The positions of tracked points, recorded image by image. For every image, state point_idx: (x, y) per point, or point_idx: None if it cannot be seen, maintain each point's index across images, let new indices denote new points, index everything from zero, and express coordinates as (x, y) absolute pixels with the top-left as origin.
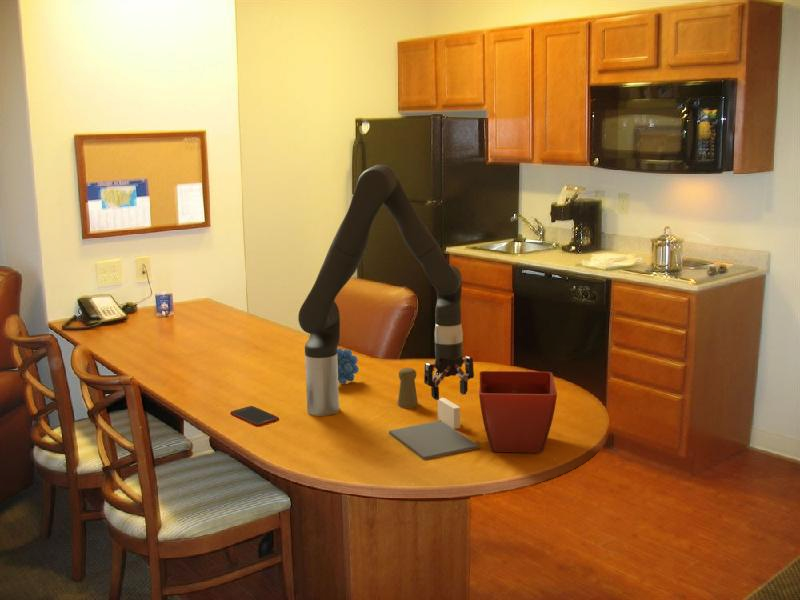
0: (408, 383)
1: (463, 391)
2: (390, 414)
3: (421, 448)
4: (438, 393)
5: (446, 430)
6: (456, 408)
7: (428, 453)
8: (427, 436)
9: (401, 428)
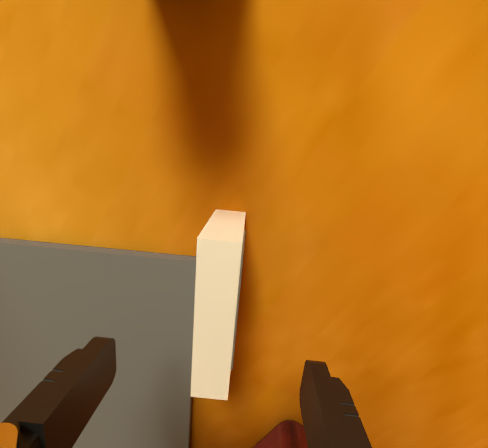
0: None
1: (303, 415)
2: (47, 28)
3: None
4: (85, 419)
5: (161, 348)
6: (205, 396)
7: None
8: None
9: (14, 246)
